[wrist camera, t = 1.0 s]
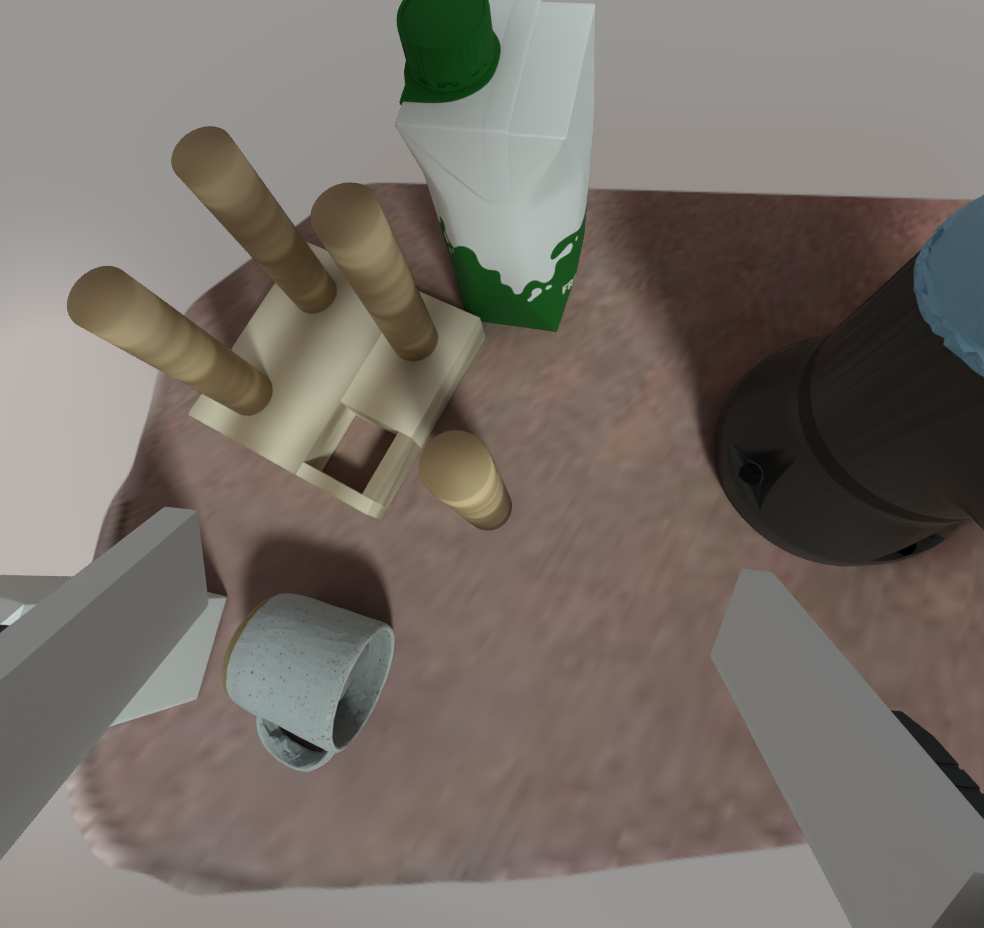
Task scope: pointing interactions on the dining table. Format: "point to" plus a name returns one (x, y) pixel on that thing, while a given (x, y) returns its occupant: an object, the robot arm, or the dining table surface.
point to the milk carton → (174, 676)
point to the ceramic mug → (307, 674)
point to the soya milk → (503, 144)
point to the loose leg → (465, 479)
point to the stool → (299, 329)
